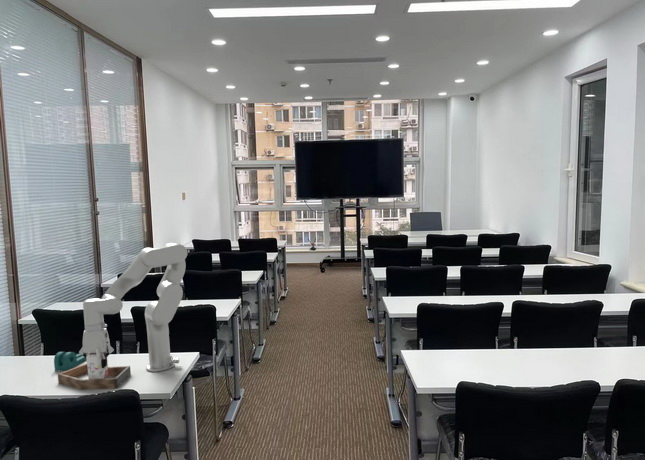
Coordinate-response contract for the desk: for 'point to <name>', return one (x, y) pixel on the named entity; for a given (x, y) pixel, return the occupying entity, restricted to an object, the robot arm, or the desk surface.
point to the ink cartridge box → (96, 366)
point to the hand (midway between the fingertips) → (97, 366)
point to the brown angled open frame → (70, 379)
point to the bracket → (67, 360)
